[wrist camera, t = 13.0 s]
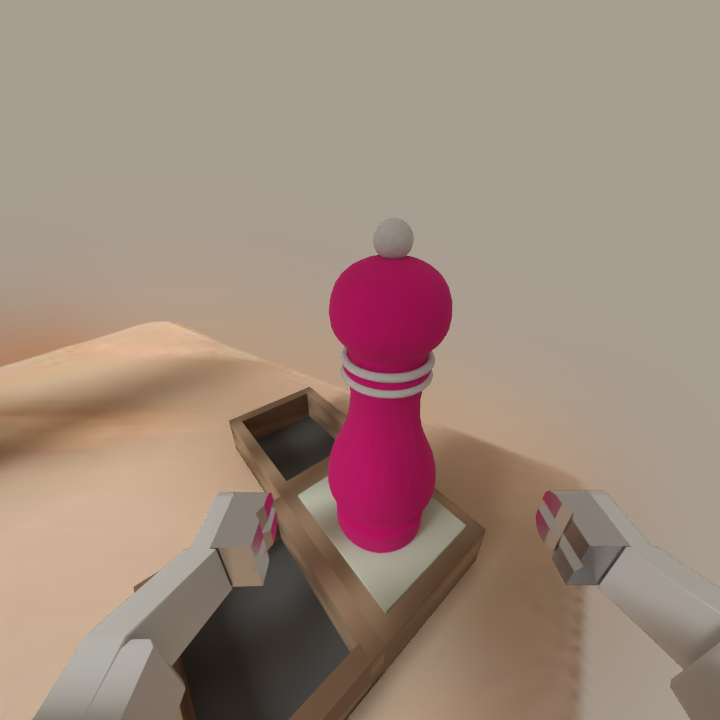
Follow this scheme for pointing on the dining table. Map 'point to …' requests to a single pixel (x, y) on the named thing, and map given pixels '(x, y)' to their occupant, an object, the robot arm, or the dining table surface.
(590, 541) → the robot arm
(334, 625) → the box
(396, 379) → the pepper mill
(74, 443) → the dining table surface
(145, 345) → the dining table surface
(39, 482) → the dining table surface
